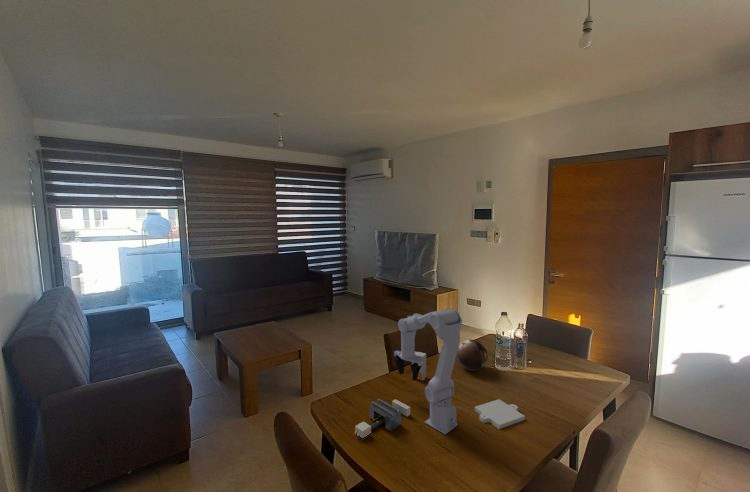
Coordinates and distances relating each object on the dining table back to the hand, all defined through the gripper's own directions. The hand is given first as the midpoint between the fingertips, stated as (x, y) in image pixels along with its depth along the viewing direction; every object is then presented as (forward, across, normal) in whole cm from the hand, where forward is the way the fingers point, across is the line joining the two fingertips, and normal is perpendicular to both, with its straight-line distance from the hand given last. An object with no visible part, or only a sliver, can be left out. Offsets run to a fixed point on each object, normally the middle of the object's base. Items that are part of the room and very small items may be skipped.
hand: (408, 376), depth 142 cm
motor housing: (+9, -5, +19) cm, 22 cm away
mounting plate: (+10, -33, -16) cm, 38 cm away
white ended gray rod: (+9, -5, +21) cm, 24 cm away
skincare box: (+10, +8, -17) cm, 21 cm away
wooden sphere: (+10, -5, -43) cm, 44 cm away
